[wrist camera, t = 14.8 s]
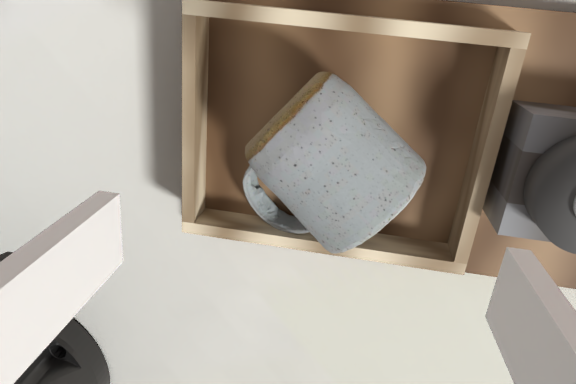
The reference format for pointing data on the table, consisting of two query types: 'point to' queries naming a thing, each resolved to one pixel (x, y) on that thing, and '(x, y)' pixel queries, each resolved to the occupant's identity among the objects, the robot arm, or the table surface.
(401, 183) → the ceramic mug
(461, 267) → the board
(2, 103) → the table surface
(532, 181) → the wheel
